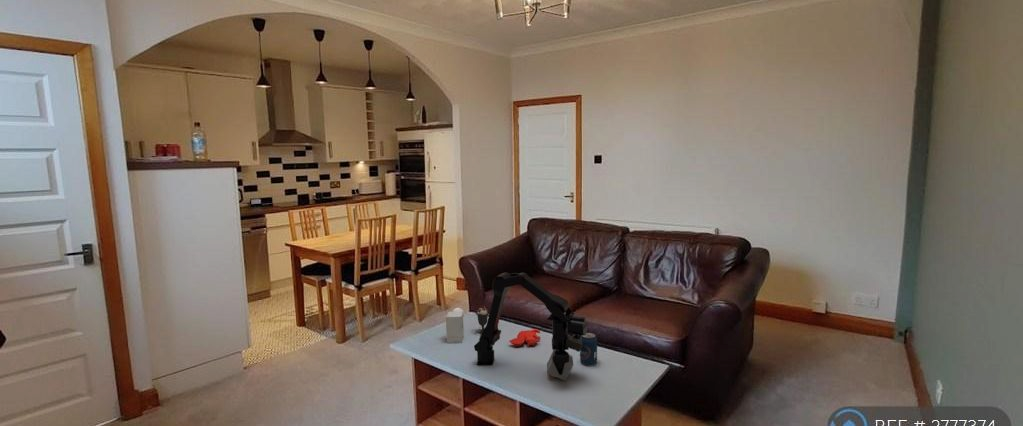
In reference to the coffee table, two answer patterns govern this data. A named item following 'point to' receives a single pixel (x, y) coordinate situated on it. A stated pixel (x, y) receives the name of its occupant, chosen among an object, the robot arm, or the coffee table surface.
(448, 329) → the supplement box
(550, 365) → the grey cube
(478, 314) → the sundae
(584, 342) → the soda can
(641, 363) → the coffee table surface
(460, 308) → the lightbulb
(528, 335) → the animal figurine
